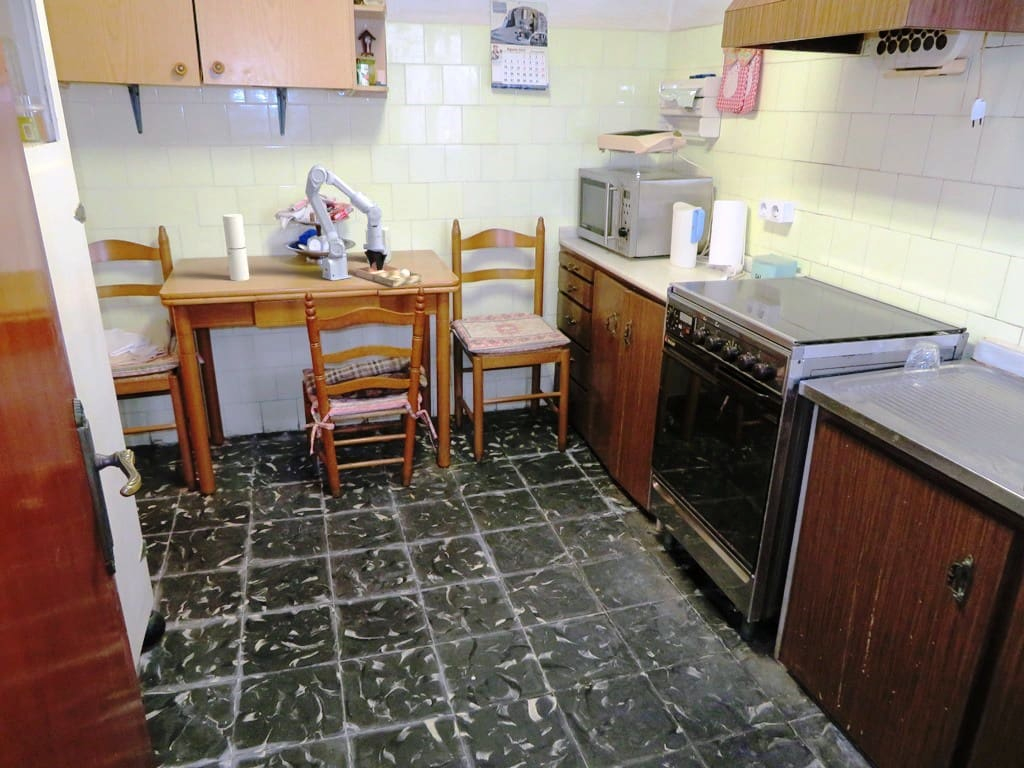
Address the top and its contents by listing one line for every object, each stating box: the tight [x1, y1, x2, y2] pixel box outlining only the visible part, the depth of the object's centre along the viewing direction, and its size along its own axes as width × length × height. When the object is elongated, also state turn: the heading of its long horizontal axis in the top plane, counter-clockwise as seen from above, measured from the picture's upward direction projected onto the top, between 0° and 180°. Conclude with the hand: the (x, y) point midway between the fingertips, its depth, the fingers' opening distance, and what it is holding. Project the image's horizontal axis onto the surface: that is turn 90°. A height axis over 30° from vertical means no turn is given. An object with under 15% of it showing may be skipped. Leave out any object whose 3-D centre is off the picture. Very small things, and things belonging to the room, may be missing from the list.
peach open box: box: [355, 264, 403, 282], centre depth 299 cm, size 14×12×3 cm
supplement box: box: [365, 226, 392, 265], centre depth 321 cm, size 9×9×15 cm
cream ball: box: [400, 269, 410, 278], centre depth 292 cm, size 4×4×4 cm
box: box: [373, 269, 423, 288], centre depth 290 cm, size 14×12×3 cm
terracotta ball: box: [372, 262, 380, 272], centre depth 297 cm, size 4×4×4 cm
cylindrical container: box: [222, 213, 250, 282], centre depth 285 cm, size 7×7×25 cm
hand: (376, 269), depth 298 cm, fingers closed on terracotta ball, 4 cm apart
